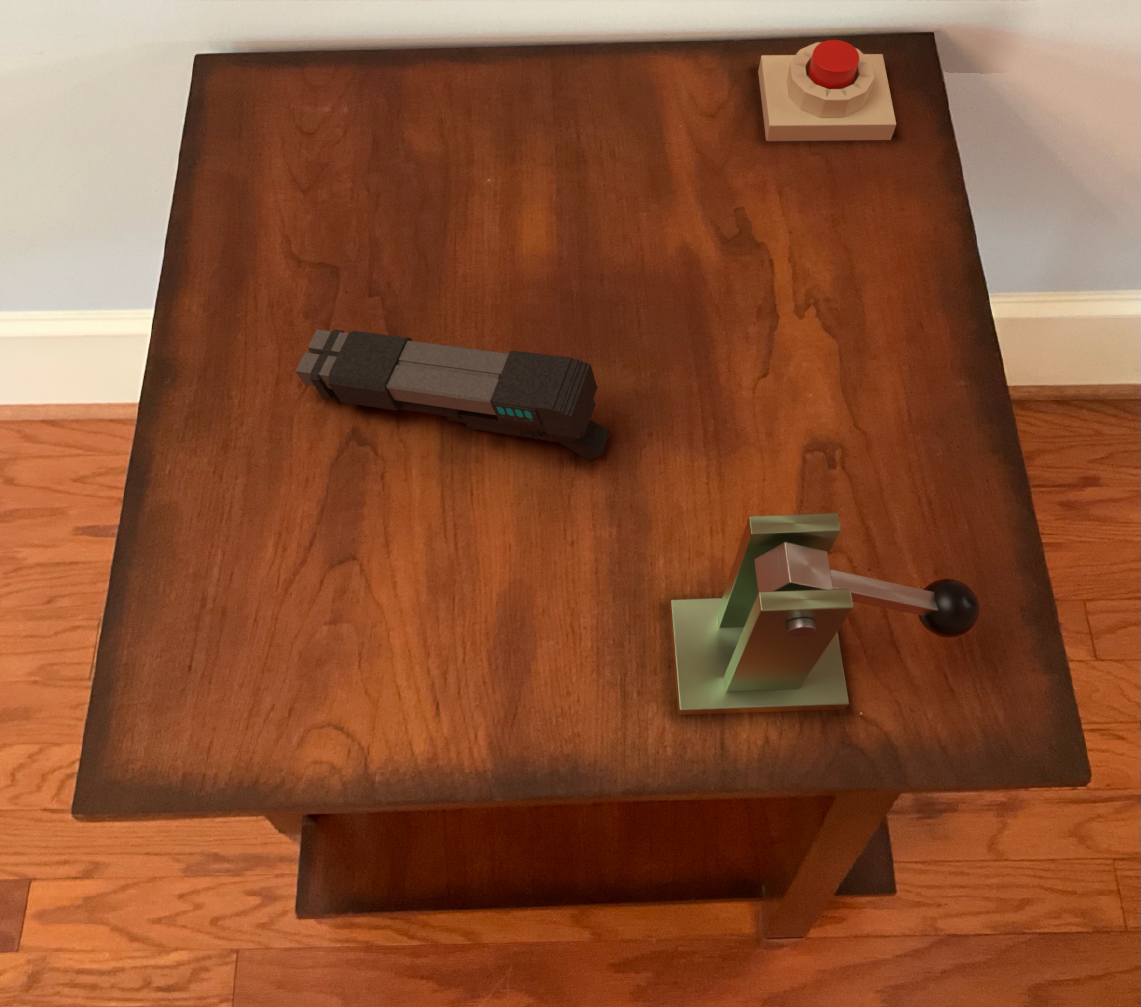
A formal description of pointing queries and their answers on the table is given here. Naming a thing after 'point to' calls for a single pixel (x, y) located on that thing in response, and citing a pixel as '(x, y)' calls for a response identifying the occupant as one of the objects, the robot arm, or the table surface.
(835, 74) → the red button
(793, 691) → the switch bracket
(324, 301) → the table surface
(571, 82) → the table surface
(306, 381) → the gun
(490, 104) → the table surface
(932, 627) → the switch lever
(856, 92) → the button box
